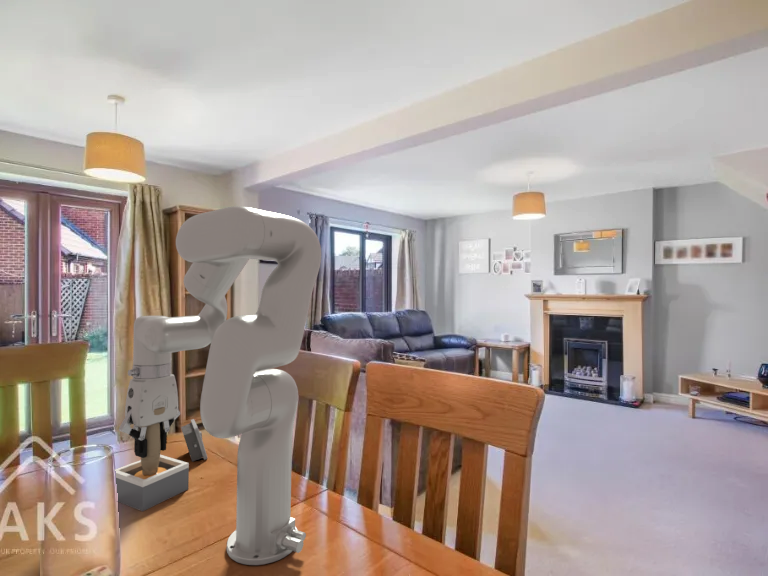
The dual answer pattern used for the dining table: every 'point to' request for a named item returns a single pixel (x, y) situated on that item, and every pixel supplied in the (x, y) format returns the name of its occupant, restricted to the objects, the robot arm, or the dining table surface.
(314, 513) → the dining table surface
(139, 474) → the button
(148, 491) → the box
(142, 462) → the handle
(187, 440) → the electrical switch
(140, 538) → the dining table surface
